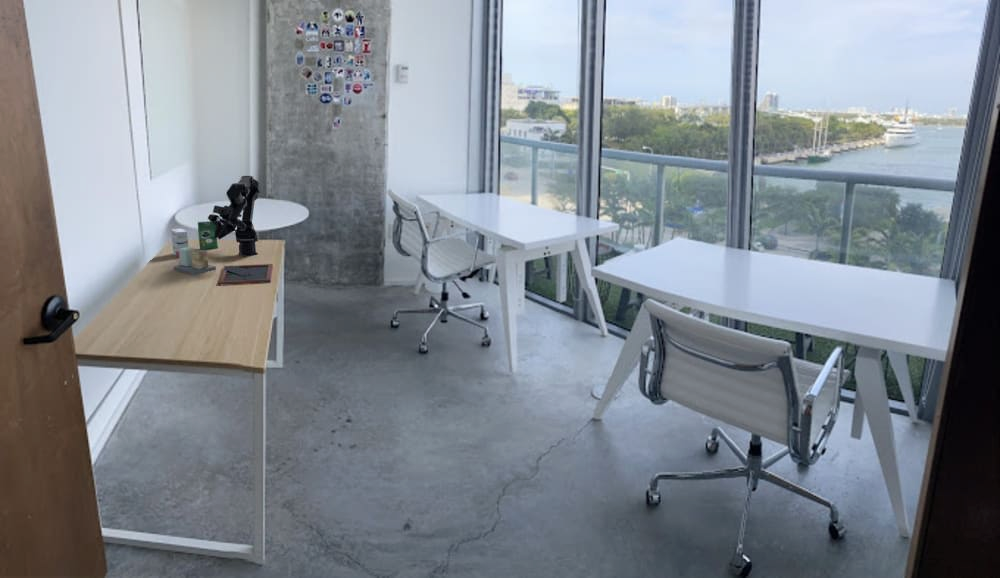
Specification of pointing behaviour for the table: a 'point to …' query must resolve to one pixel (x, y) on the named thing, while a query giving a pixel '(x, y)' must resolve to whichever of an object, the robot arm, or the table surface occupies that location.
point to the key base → (193, 269)
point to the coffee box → (207, 235)
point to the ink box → (179, 240)
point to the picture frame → (246, 274)
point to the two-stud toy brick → (186, 256)
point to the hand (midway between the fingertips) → (216, 238)
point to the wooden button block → (199, 259)
